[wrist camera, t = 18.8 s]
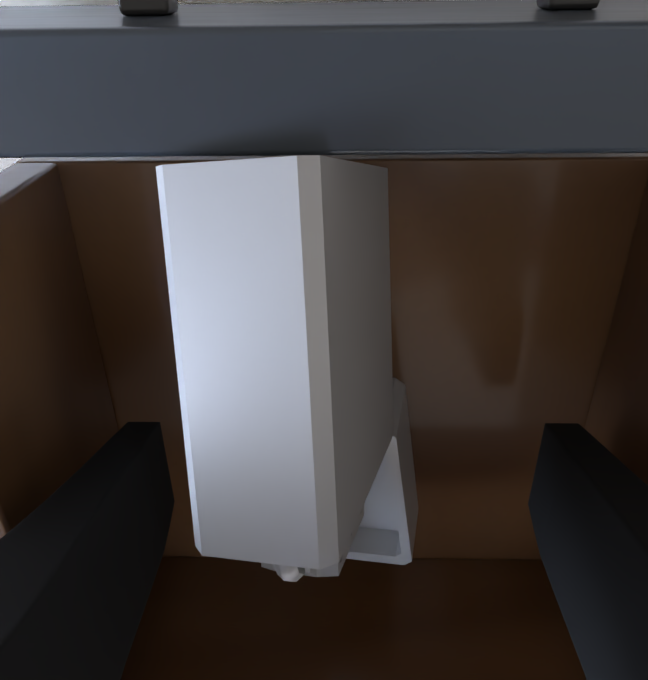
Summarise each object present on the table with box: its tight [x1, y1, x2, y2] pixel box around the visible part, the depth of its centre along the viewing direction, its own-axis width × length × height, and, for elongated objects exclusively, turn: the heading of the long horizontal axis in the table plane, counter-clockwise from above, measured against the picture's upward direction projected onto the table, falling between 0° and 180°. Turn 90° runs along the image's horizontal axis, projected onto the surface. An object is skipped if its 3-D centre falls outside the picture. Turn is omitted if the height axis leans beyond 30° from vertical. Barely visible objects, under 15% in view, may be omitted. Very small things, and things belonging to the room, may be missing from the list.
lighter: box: [156, 155, 418, 582], centre depth 10 cm, size 7×2×8 cm
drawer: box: [0, 0, 648, 680], centre depth 10 cm, size 18×13×6 cm
